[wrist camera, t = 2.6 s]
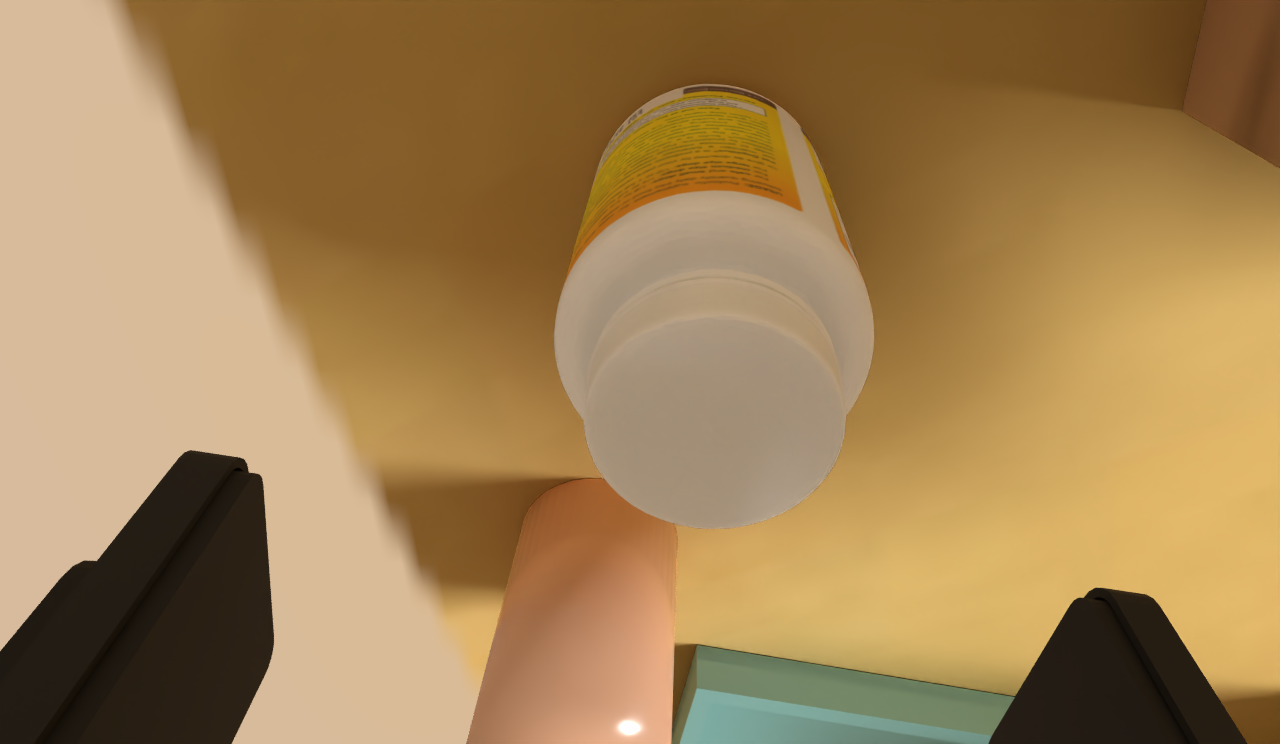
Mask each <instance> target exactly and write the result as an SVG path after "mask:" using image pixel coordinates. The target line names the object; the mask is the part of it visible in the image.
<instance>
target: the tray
mask: <svg viewBox="0 0 1280 744" xmlns="http://www.w3.org/2000/svg"><path fill="white" fill-rule="evenodd" d="M1014 698H1015V697H1012V696H1006V695H1000V694H993V693H987V692H981V691H975V690H969V689H963V688H957V687H951V686H945V685H939V684H932V683H926V682H920V681H914V680H908V679H902V678H896V677H890V676H884V675H878V674H871V673H865V672H859V671H853V670H847V669H841V668H835V667H829V666H823V665H817V664H810V663H804V662H798V661H792V660H786V659H780V658H774V657H768V656H762V655H756V654H750V653H743V652H737V651H731V650H725V649H719V648H713V647H707V646H701V645H697V647H696V650H695V654H694V657H693V660H692V664H691V667H690V670H689V674H688V677H687V680H686V684H685V687H684V690H683V694H682V697H681V700H680V704H679V707H678V710H677V714H676V717H675V720H674V724H673V727H672V738H671V744H989V741H990V738H991V736H992V735H993V733H994V731H995V730H996V728H997V726H998V725H999V723H1000V721H1001V720H1002V718H1003V716H1004V715H1005V713H1006V711H1007V710H1008V708H1009V706H1010V705H1011V703H1012V701H1013V700H1014Z"/></svg>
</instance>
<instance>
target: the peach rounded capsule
mask: <svg viewBox="0 0 1280 744" xmlns="http://www.w3.org/2000/svg"><path fill="white" fill-rule="evenodd" d="M677 549H678V537H677V532H676V528H675V525H674V523H670V522H667V521H664V520H661V519H659V518H656V517H654V516H652V515H649V514H647V513H645V512H643V511H642V510H640V509H638V508H636V507H635V506H633V505H631V504H630V503H629V502H628V501H626V500H625V499H624V498H622V497H621V496H620V495H619V494H618V493H617V492H616V491H615V490H614V489H613V488H612V487H611V486H610V485H609V484H608V483H607V481H606V480H605V479H593V478H590V479H579V480H574V481H569V482H566V483H563V484H560V485H558V486H556V487H553V488H551V489H550V490H548V491H547V492H545V493H543V494H542V495H541V496H540V497H539V498H537V499H536V501H535V502H534V503H533V504H532V505H531V507H530V508H529V510H528V511H527V513H526V516H525V518H524V521H523V525H522V529H521V533H520V537H519V541H518V544H517V548H516V552H515V556H514V560H513V564H512V568H511V572H510V576H509V580H508V583H507V587H506V591H505V595H504V599H503V603H502V607H501V611H500V615H499V618H498V622H497V626H496V630H495V634H494V638H493V642H492V646H491V650H490V654H489V657H488V661H487V665H486V669H485V673H484V677H483V681H482V685H481V689H480V693H479V696H478V700H477V704H476V708H475V712H474V716H473V720H472V724H471V728H470V731H469V735H468V739H467V743H466V744H671V738H672V706H673V675H674V643H675V612H676V581H677Z"/></svg>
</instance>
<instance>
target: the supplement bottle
mask: <svg viewBox="0 0 1280 744" xmlns="http://www.w3.org/2000/svg"><path fill="white" fill-rule="evenodd" d="M873 349H874V320H873V313H872V308H871V303H870V299H869V296H868V292H867V288H866V285H865V282H864V279H863V277H862V274H861V271H860V268H859V265H858V263H857V260H856V257H855V254H854V252H853V250H852V247H851V244H850V241H849V238H848V235H847V233H846V230H845V227H844V224H843V222H842V219H841V216H840V213H839V210H838V207H837V205H836V202H835V199H834V197H833V194H832V191H831V189H830V186H829V183H828V181H827V178H826V175H825V173H824V171H823V168H822V166H821V163H820V160H819V158H818V155H817V153H816V151H815V149H814V147H813V145H812V143H811V141H810V139H809V138H808V136H807V135H806V133H805V132H804V130H803V129H802V128H801V126H800V125H799V124H798V123H797V122H796V120H795V119H794V118H793V117H792V116H791V115H790V114H789V113H788V112H786V111H785V110H784V109H783V108H781V107H780V106H779V105H777V104H776V103H774V102H773V101H771V100H769V99H768V98H766V97H764V96H762V95H759V94H757V93H755V92H752V91H750V90H747V89H744V88H740V87H736V86H730V85H722V84H697V85H691V86H685V87H682V88H678V89H674V90H672V91H669V92H666V93H664V94H662V95H660V96H658V97H656V98H654V99H652V100H650V101H649V102H647V103H645V104H644V105H643V106H641V107H640V108H639V109H637V110H636V111H635V112H634V113H633V114H632V115H630V116H629V117H628V118H627V119H626V120H625V121H624V123H623V124H622V125H621V126H620V127H619V128H618V129H617V131H616V132H615V133H614V135H613V137H612V138H611V140H610V142H609V143H608V145H607V147H606V149H605V151H604V153H603V155H602V158H601V160H600V163H599V165H598V169H597V172H596V175H595V179H594V182H593V185H592V189H591V192H590V196H589V199H588V203H587V206H586V209H585V212H584V216H583V220H582V223H581V226H580V229H579V233H578V236H577V239H576V243H575V246H574V250H573V254H572V257H571V261H570V264H569V268H568V271H567V275H566V278H565V281H564V285H563V288H562V292H561V295H560V299H559V304H558V308H557V314H556V320H555V330H554V350H555V357H556V363H557V367H558V371H559V375H560V378H561V381H562V384H563V386H564V389H565V391H566V393H567V395H568V397H569V399H570V401H571V403H572V404H573V406H574V408H575V409H576V411H577V412H578V414H579V415H580V416H581V418H582V419H583V420H584V430H585V438H586V441H587V445H588V449H589V451H590V454H591V456H592V459H593V461H594V463H595V466H596V467H597V469H598V470H599V472H600V473H601V475H602V477H603V478H604V479H605V480H606V481H607V483H608V484H609V485H610V486H611V487H612V488H613V489H614V490H615V491H616V492H617V493H618V494H619V495H620V496H621V497H622V498H624V499H625V500H626V501H628V502H629V503H630V504H631V505H633V506H635V507H636V508H638V509H640V510H642V511H643V512H645V513H647V514H649V515H652V516H654V517H656V518H659V519H661V520H664V521H667V522H670V523H674V524H678V525H681V526H688V527H694V528H701V529H727V528H736V527H743V526H747V525H751V524H755V523H758V522H762V521H765V520H768V519H770V518H773V517H775V516H778V515H780V514H782V513H784V512H786V511H787V510H789V509H791V508H793V507H794V506H796V505H797V504H799V503H800V502H801V501H803V500H804V499H805V498H806V497H808V496H809V495H810V494H811V493H812V492H813V491H815V490H816V489H817V487H818V486H819V485H820V484H821V483H822V482H823V480H824V479H825V478H826V477H827V475H828V474H829V472H830V471H831V469H832V468H833V466H834V464H835V463H836V460H837V458H838V456H839V453H840V450H841V447H842V444H843V440H844V434H845V427H846V416H847V414H848V413H849V412H850V410H851V409H852V407H853V406H854V404H855V402H856V400H857V399H858V397H859V395H860V393H861V391H862V389H863V386H864V384H865V381H866V379H867V376H868V373H869V370H870V366H871V361H872V356H873Z"/></svg>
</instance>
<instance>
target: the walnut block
mask: <svg viewBox="0 0 1280 744" xmlns="http://www.w3.org/2000/svg"><path fill="white" fill-rule="evenodd" d="M1182 112H1184V113H1186V114H1188V115H1189V116H1191V117H1193V118H1194V119H1196V120H1198V121H1200V122H1201V123H1203V124H1205V125H1207V126H1208V127H1210V128H1212V129H1213V130H1215V131H1217V132H1219V133H1220V134H1222V135H1224V136H1225V137H1227V138H1229V139H1231V140H1232V141H1234V142H1236V143H1237V144H1239V145H1241V146H1243V147H1244V148H1246V149H1248V150H1250V151H1251V152H1253V153H1255V154H1256V155H1258V156H1260V157H1262V158H1263V159H1265V160H1267V161H1268V162H1270V163H1272V164H1274V165H1275V166H1277V167H1279V168H1280V0H1207V1H1206V6H1205V10H1204V15H1203V19H1202V23H1201V28H1200V32H1199V37H1198V41H1197V46H1196V50H1195V55H1194V59H1193V63H1192V68H1191V72H1190V77H1189V81H1188V86H1187V90H1186V94H1185V99H1184V103H1183V108H1182Z"/></svg>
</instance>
